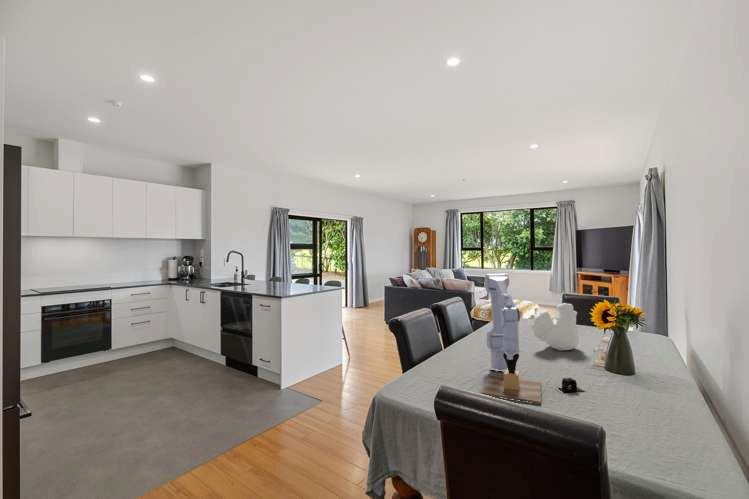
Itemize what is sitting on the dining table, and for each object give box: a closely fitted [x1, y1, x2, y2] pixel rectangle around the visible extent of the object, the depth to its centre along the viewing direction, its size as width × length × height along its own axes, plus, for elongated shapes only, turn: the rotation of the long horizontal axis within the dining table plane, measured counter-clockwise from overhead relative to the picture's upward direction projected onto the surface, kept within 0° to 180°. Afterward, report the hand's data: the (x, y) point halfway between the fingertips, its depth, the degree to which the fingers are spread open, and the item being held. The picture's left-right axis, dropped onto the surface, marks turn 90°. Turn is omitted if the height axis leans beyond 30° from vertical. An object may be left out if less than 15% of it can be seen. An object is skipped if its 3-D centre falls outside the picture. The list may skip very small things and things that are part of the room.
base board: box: [481, 374, 542, 406], centre depth 131 cm, size 20×20×1 cm
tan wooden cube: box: [503, 369, 520, 390], centre depth 131 cm, size 5×5×6 cm
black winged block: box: [557, 377, 586, 395], centre depth 129 cm, size 12×7×5 cm, turn 98°
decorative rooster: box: [530, 302, 580, 351], centre depth 182 cm, size 25×16×25 cm, turn 81°
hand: (511, 372), depth 131 cm, fingers closed, pressing on tan wooden cube
